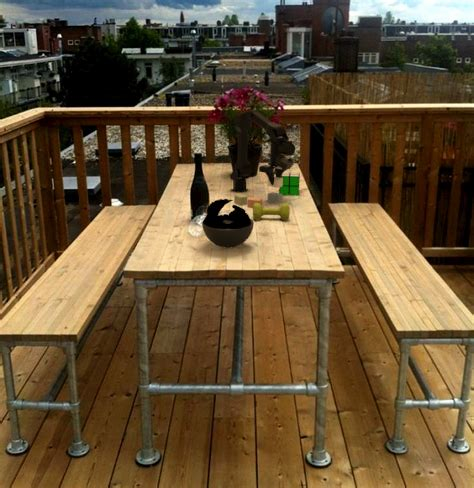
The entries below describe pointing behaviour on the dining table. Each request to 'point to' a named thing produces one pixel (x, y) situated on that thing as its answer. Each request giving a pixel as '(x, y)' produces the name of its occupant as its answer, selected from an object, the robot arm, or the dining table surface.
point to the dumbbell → (271, 211)
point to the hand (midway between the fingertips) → (275, 184)
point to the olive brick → (240, 199)
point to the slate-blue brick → (274, 197)
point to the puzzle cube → (290, 183)
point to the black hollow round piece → (227, 225)
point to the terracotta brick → (254, 200)
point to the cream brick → (276, 182)
